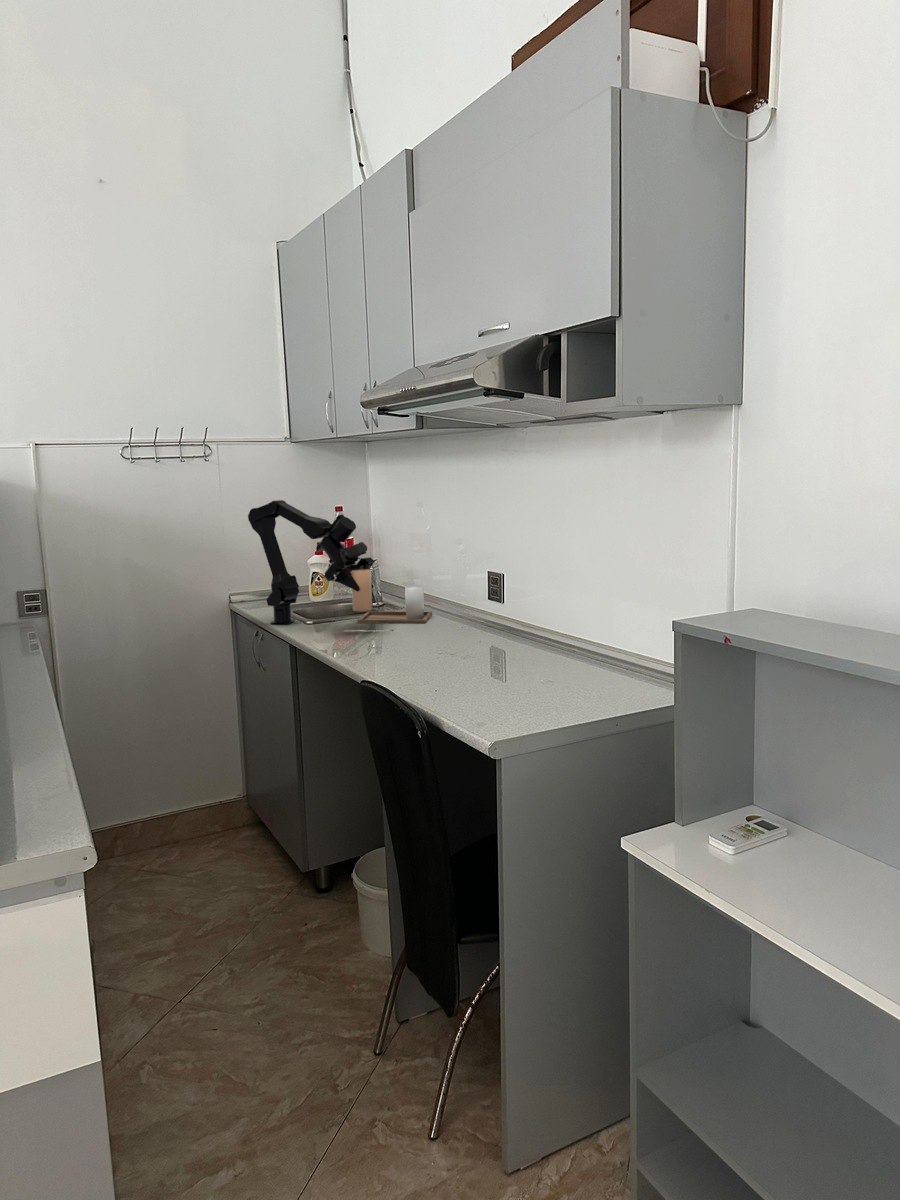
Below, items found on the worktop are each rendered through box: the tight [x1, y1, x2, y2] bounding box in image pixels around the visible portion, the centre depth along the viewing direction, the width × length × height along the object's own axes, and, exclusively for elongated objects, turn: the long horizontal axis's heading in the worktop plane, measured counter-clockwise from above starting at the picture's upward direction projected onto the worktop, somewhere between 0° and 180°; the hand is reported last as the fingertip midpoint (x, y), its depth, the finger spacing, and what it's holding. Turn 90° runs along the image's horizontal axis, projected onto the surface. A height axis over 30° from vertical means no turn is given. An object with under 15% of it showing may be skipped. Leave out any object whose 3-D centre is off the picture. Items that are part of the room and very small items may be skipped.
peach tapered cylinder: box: [351, 568, 373, 612], centre depth 270 cm, size 6×6×12 cm
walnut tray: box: [356, 611, 433, 625], centre depth 287 cm, size 16×22×2 cm
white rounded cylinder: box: [404, 585, 425, 619], centre depth 288 cm, size 6×6×10 cm
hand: (365, 589), depth 269 cm, fingers closed on peach tapered cylinder, 6 cm apart
